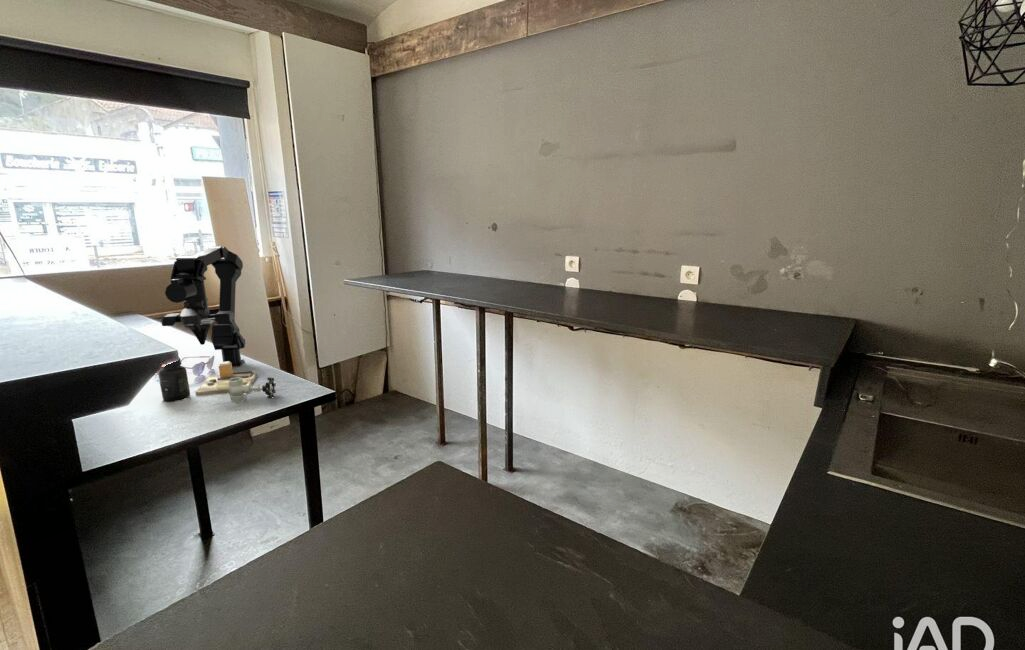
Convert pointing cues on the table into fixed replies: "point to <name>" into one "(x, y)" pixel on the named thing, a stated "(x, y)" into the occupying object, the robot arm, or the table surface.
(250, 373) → the panel
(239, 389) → the valve
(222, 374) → the orange rectangular block
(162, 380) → the supplement bottle
